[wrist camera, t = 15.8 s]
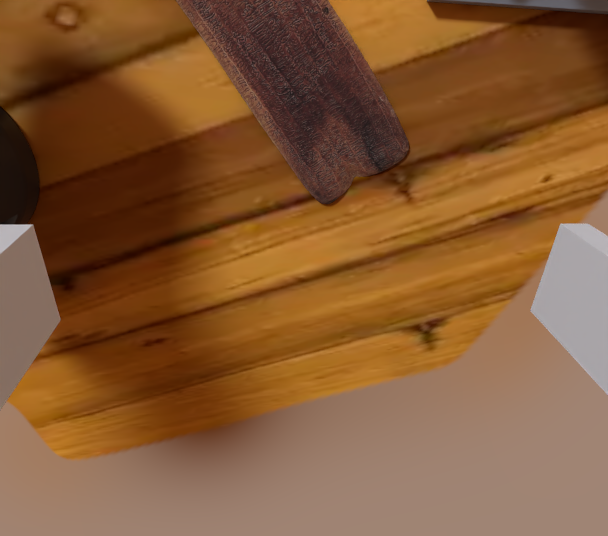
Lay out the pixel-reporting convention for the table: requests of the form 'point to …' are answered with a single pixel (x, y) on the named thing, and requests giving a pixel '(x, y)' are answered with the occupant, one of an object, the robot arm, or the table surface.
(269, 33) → the wooden tablet
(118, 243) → the table surface
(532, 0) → the peg plinth
